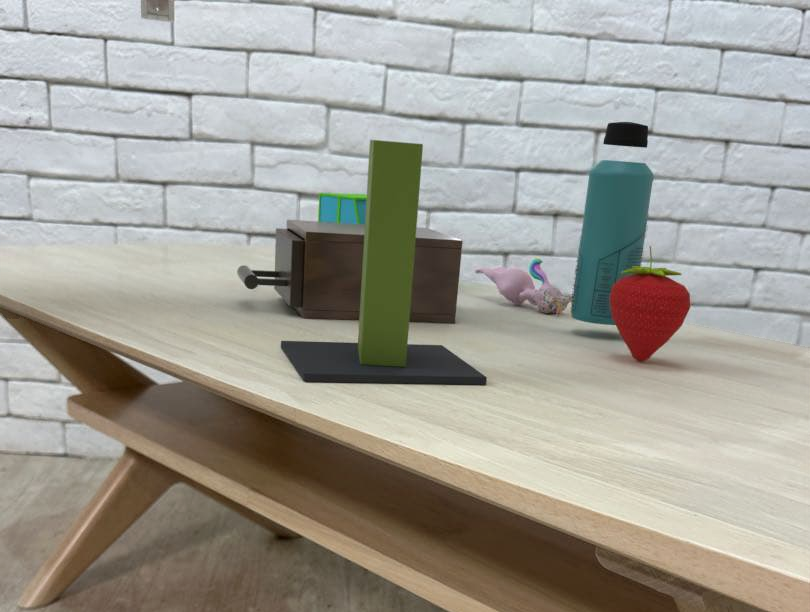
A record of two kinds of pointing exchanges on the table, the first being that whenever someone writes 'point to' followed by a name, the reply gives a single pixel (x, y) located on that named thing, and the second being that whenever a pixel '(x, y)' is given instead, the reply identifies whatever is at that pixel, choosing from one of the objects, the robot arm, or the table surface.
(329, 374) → the mat
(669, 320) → the strawberry
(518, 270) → the pink elongated figure
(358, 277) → the cabinet
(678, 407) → the table surface
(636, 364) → the table surface
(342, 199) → the blue green-edged box
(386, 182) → the tall olive green pillar
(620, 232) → the beverage bottle
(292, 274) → the drawer
